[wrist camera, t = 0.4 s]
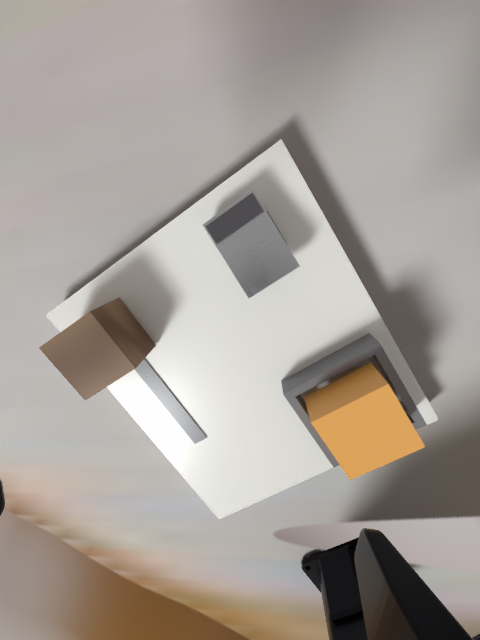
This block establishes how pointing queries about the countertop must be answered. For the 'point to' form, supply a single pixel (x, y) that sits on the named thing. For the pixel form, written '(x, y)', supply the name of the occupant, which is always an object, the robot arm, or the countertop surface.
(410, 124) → the countertop surface
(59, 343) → the slider knob
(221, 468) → the control panel
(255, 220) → the rocker switch
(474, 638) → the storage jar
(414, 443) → the push button
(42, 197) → the countertop surface
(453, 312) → the countertop surface
